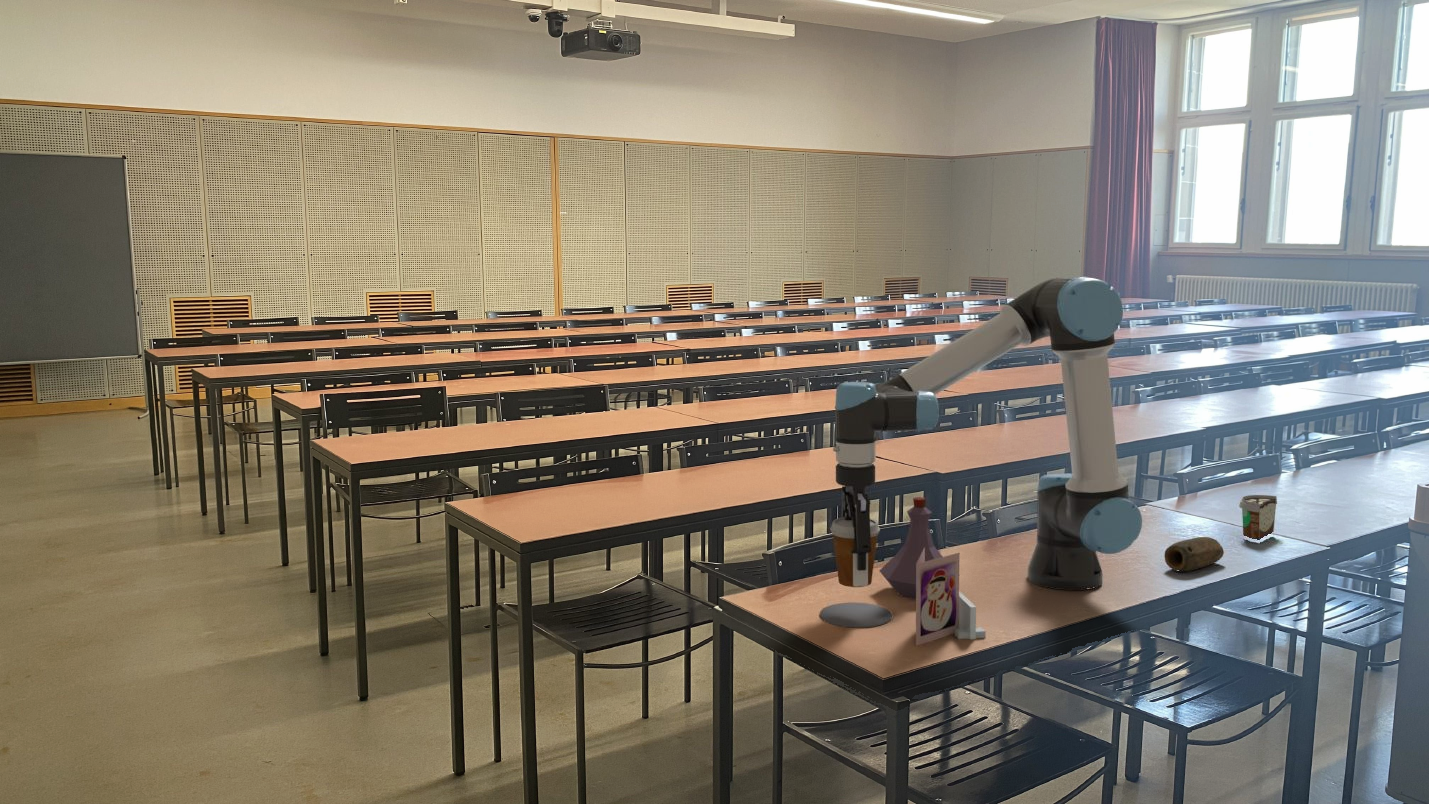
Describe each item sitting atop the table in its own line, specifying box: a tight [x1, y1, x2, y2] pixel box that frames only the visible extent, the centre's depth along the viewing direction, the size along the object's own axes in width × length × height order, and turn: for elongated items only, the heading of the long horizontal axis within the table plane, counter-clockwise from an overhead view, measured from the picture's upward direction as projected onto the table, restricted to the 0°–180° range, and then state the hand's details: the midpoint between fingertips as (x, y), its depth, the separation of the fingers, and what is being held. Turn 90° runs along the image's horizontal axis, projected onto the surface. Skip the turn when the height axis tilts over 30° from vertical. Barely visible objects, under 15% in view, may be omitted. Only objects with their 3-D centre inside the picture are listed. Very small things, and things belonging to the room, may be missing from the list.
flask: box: [879, 496, 961, 601], centre depth 206 cm, size 16×16×20 cm
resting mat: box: [819, 601, 893, 629], centre depth 194 cm, size 14×14×1 cm
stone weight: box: [1164, 536, 1225, 572], centre depth 221 cm, size 15×7×7 cm, turn 128°
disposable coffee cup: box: [829, 517, 881, 588], centre depth 192 cm, size 10×10×12 cm
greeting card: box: [915, 547, 960, 646], centre depth 182 cm, size 11×7×15 cm, turn 126°
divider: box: [954, 590, 987, 640], centre depth 188 cm, size 5×17×6 cm, turn 5°
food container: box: [1238, 494, 1278, 540], centre depth 243 cm, size 12×6×10 cm, turn 133°
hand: (855, 578), depth 193 cm, fingers closed on disposable coffee cup, 8 cm apart
